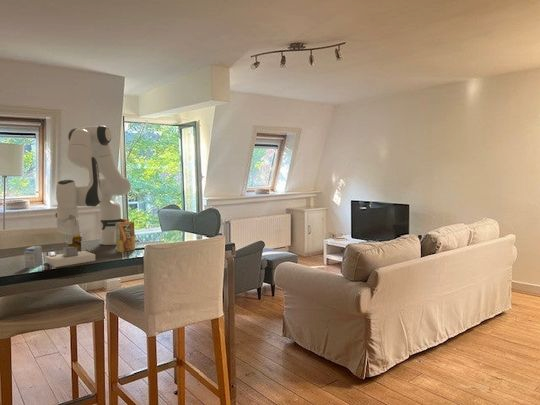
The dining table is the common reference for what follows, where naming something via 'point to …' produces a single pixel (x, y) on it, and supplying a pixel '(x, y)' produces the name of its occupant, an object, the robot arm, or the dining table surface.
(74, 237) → the condiment
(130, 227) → the candy box
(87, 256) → the socket
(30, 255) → the medicine box
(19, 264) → the dining table surface
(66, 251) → the plug
